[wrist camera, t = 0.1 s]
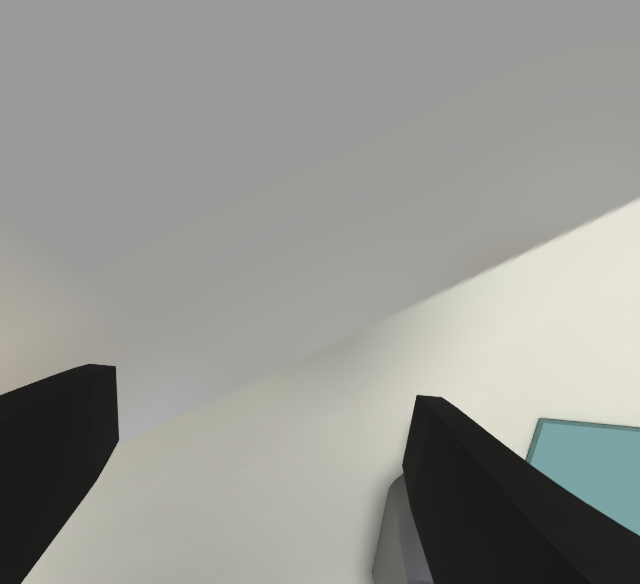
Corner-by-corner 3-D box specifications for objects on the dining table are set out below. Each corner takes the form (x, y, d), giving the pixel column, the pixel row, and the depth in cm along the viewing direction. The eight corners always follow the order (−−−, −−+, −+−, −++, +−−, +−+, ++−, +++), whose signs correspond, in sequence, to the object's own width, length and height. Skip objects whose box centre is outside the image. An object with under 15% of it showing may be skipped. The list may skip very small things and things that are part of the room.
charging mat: (658, 636, 26) (663, 643, 25) (473, 622, 25) (476, 629, 25) (761, 439, 21) (769, 444, 21) (539, 418, 21) (543, 422, 20)
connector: (428, 596, 25) (455, 697, 20) (368, 592, 24) (380, 692, 20) (473, 427, 21) (520, 500, 16) (402, 421, 21) (429, 492, 16)
